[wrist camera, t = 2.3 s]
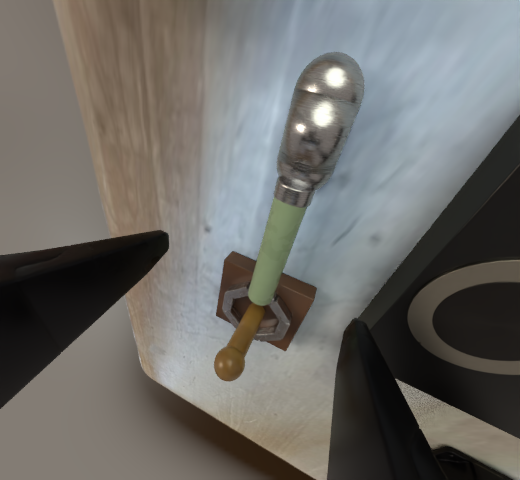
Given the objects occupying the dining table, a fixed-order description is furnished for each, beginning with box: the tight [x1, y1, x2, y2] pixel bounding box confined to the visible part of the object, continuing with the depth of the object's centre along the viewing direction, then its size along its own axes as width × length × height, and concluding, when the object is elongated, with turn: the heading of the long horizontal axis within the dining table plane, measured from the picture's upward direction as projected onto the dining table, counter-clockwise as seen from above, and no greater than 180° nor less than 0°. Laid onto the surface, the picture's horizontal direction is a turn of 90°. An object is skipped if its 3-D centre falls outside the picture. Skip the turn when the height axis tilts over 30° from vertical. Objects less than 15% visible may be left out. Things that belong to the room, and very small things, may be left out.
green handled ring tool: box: [222, 52, 365, 341], centre depth 15 cm, size 21×6×4 cm, turn 167°
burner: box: [407, 259, 520, 375], centre depth 11 cm, size 8×8×1 cm
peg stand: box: [214, 251, 317, 381], centre depth 18 cm, size 8×8×8 cm
